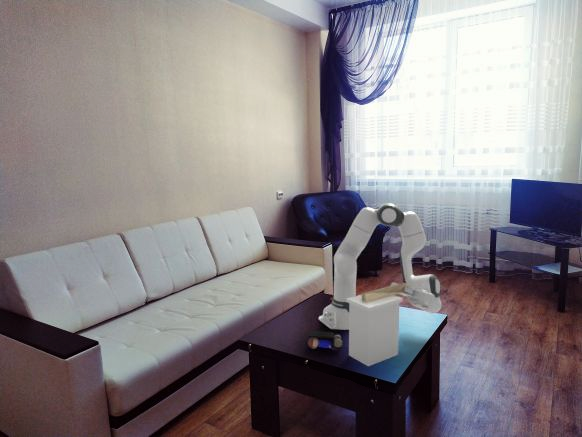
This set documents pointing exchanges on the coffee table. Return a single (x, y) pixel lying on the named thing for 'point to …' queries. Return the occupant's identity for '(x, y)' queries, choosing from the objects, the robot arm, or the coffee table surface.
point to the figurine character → (315, 343)
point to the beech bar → (384, 292)
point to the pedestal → (373, 328)
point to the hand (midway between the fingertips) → (400, 287)
